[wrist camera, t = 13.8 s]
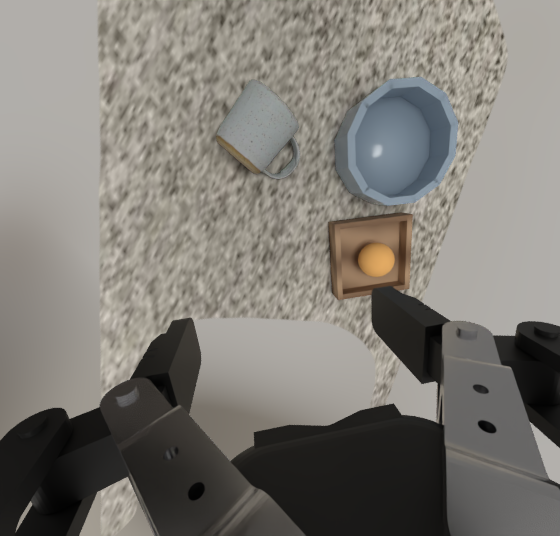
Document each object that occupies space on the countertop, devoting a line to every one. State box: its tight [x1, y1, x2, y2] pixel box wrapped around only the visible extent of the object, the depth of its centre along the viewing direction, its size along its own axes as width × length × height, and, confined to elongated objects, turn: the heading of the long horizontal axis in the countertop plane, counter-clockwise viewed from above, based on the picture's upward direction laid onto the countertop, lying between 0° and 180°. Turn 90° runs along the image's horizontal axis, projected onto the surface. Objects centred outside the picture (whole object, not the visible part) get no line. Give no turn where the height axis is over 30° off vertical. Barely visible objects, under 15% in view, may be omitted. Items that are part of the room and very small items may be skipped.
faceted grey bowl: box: [334, 77, 458, 206], centre depth 37 cm, size 15×15×5 cm
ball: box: [358, 243, 395, 277], centre depth 41 cm, size 5×5×5 cm
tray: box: [328, 213, 413, 300], centre depth 43 cm, size 12×12×3 cm
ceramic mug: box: [216, 80, 300, 179], centre depth 34 cm, size 11×8×8 cm
